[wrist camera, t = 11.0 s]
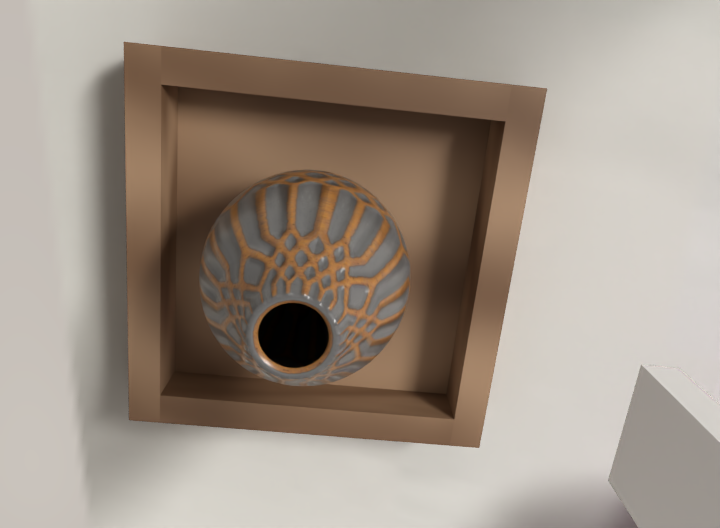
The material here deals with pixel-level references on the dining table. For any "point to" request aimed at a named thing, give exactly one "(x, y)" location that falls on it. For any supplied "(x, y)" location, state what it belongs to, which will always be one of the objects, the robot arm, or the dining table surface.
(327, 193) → the vase
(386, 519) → the dining table surface
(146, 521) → the dining table surface
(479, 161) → the walnut tray
